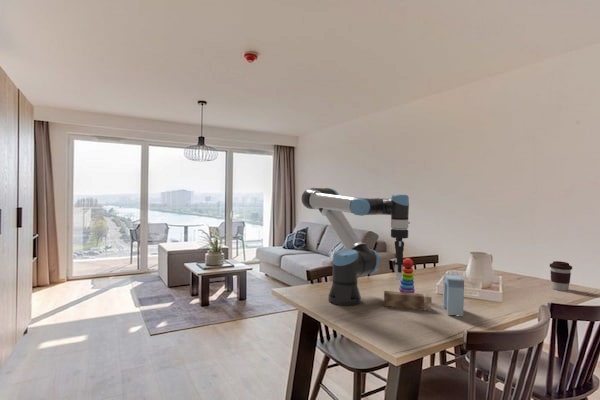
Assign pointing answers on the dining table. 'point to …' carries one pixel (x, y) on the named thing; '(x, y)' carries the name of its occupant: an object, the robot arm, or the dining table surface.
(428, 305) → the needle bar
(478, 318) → the dining table surface
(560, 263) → the coffee cup
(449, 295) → the light blue arch block
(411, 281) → the stacking toy
